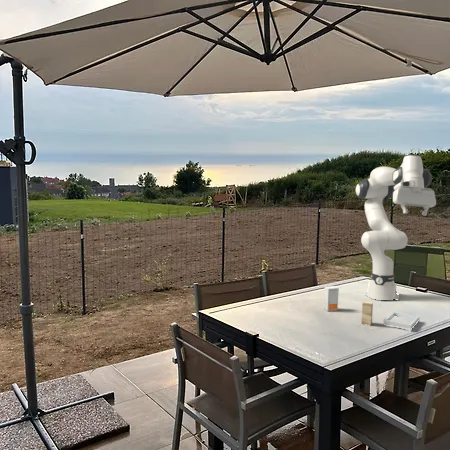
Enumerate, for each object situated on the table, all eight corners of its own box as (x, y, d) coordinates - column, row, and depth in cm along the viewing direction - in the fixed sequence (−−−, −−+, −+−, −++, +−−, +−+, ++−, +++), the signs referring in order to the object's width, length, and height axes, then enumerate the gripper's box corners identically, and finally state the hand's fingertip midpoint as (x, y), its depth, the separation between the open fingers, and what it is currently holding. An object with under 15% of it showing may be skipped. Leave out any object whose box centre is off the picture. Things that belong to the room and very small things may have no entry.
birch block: (363, 321, 199) (364, 301, 198) (372, 323, 197) (372, 302, 196) (361, 324, 195) (362, 303, 194) (370, 325, 194) (371, 304, 193)
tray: (393, 317, 206) (393, 311, 206) (419, 322, 199) (419, 316, 199) (383, 325, 194) (383, 319, 193) (410, 331, 187) (411, 325, 186)
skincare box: (327, 311, 214) (328, 288, 213) (323, 309, 219) (324, 286, 217) (338, 310, 216) (338, 287, 215) (333, 308, 220) (334, 285, 219)
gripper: (430, 190, 205) (431, 218, 202) (390, 186, 203) (391, 213, 200) (438, 186, 199) (439, 214, 196) (397, 182, 197) (398, 210, 193)
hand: (415, 214), depth 198 cm, fingers open, 8 cm apart
